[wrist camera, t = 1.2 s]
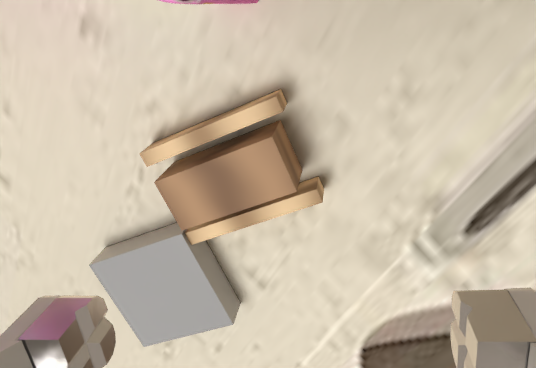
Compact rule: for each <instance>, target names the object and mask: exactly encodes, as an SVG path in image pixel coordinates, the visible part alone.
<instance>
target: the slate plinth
mask: <svg viewBox="0 0 536 368" xmlns="http://www.w3.org/2000/svg"><path fill="white" fill-rule="evenodd" d="M186 231H187V229H185V230H181V228H180V227H179V225H178V223H174V224H171V225H169V226H166V227H163V228H160V229H157V230H154V231H151V232H148V233H145V234H143V235H140V236H137V237H134V238H131V239H128V240H125V241H122V242H120V243H117V244H114V245H111V246H108V247H105V248H104V250H103V251H102V252H101V253H100V254H99V255H98V256H97V257H96V258H95V259H94V260H93V261H92V262H91V264H90V265H89V266H90V267H91V269H92V270H93V272H94V273H95V275H96V276H97V278H98V279H99V281H100V282H101V284H102V285H103V287H104V288H105V290H106V291H107V293H108V294H109V296H110V297H111V299H112V300H113V302H114V303H115V305H116V306H117V308H118V309H119V311H120V312H121V314H122V315H123V317H124V318H125V320H126V321H127V322H128V324H129V325H130V327H131V328H132V330H133V331H134V333H135V334H136V336H137V337H138V339H139V340H140V342H141V343H142V345H143V346H144V347H145V346H149V345H153V344H157V343H161V342H165V341H169V340H173V339H177V338H181V337H185V336H189V335H193V334H197V333H201V332H205V331H209V330H213V329H217V328H221V327H225V326H229V325H233V324H234V321H235V318H236V315H237V312H238V309H239V306H240V301H239V299H238V298H237V296H236V294H235V292H234V290H233V289H232V287H231V285H230V283H229V281H228V280H227V278H226V276H225V274H224V272H223V271H222V269H221V267H220V265H219V263H218V262H217V260H216V258H215V256H214V254H213V253H212V251H211V249H210V247H209V245H208V244H207V242H206V240H205V241H202V242H199V243H196V244H193V245H191V243H190V242H189V240H188V238H187V236H186V235H185V232H186Z"/></svg>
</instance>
